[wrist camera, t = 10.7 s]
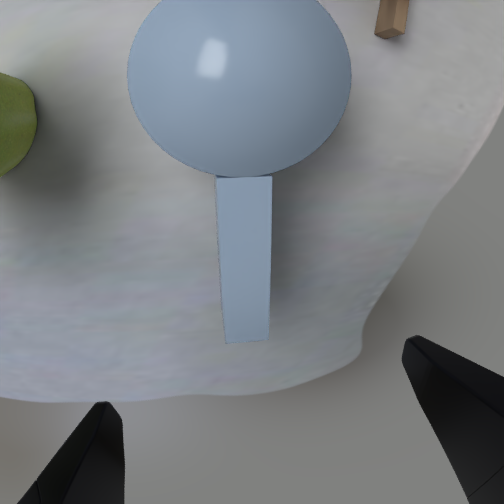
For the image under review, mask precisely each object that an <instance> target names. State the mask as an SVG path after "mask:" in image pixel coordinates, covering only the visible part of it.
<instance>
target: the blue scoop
mask: <svg viewBox="0 0 504 504" xmlns="http://www.w3.org/2000/svg"><path fill="white" fill-rule="evenodd" d="M127 79H128V90H129V94H130V99H131V103H132V105H133V108H134V110H135V113H136V115H137V117H138V119H139V121H140V123H141V124H142V126H143V128H144V129H145V131H146V132H147V133H148V134H149V136H150V137H151V138H152V140H154V141H155V142H156V143H157V144H158V145H159V146H160V147H161V148H162V149H163V150H164V151H165V152H167V153H168V154H169V155H171V156H172V157H173V158H175V159H177V160H178V161H180V162H182V163H184V164H186V165H187V166H190V167H192V168H195V169H197V170H200V171H203V172H207V173H210V174H214V179H215V204H216V225H217V244H218V262H219V278H220V293H221V307H222V316H223V325H224V334H225V342H226V344H228V343H240V342H251V341H261V340H269V311H270V275H271V227H272V176H271V175H270V173H274V172H277V171H279V170H282V169H285V168H288V167H290V166H292V165H294V164H296V163H298V162H300V161H301V160H303V159H304V158H306V157H307V156H309V155H310V154H312V153H313V152H314V151H315V150H316V149H317V148H319V147H320V146H321V145H322V144H323V143H324V142H325V141H326V139H327V138H328V137H329V136H330V135H331V133H332V132H333V131H334V129H335V128H336V126H337V125H338V123H339V121H340V119H341V117H342V115H343V113H344V110H345V108H346V105H347V102H348V98H349V93H350V88H351V63H350V57H349V53H348V49H347V46H346V43H345V40H344V37H343V35H342V33H341V31H340V30H339V28H338V26H337V24H336V23H335V21H334V20H333V18H332V17H331V16H330V14H329V13H328V12H327V11H326V10H325V9H324V7H323V6H322V5H321V4H320V3H319V2H317V1H316V0H162V1H161V2H160V3H159V4H158V5H157V6H156V7H155V8H154V9H153V10H152V11H151V12H150V14H149V15H148V16H147V17H146V19H145V20H144V22H143V23H142V25H141V27H140V28H139V30H138V32H137V34H136V36H135V39H134V41H133V44H132V47H131V51H130V55H129V60H128V70H127Z"/></svg>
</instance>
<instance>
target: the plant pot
mask: <svg viewBox="0 0 504 504" xmlns="http://www.w3.org/2000/svg"><path fill="white" fill-rule="evenodd" d="M36 127H37V117H36V112H35V105H34V96H33V94H32V92H31V90H30V89H29V87H28V86H27V85H26V84H25V83H24V82H22V81H21V80H19V79H17V78H14V77H11V76H9V75H6V74H3V73H0V177H1V176H3V175H4V174H6V173H7V172H8V171H10V170H11V169H12V168H14V167H15V166H16V165H17V164H19V163H20V162H21V161H22V159H23V158H24V157H25V155H26V154H27V153H28V151H29V149H30V147H31V145H32V142H33V139H34V136H35V132H36Z"/></svg>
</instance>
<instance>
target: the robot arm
mask: <svg viewBox="0 0 504 504" xmlns="http://www.w3.org/2000/svg"><path fill="white" fill-rule="evenodd" d="M402 363H403V366H404V368H405V370H406V373H407V375H408V378H409V380H410V382H411V385H412V387H413V389H414V392H415V394H416V397H417V399H418V401H419V403H420V405H421V407H422V409H423V411H424V413H425V415H426V417H427V418H428V420H429V422H430V424H431V426H432V428H433V430H434V432H435V434H436V436H437V437H438V439H439V441H440V443H441V445H442V447H443V449H444V451H445V453H446V455H447V457H448V459H449V461H450V463H451V465H452V467H453V469H454V471H455V473H456V475H457V478H458V480H459V482H460V484H461V486H462V488H463V490H464V492H465V495H466V497H467V499H468V502H469V504H504V377H503V376H501V375H499V374H497V373H495V372H493V371H491V370H488V369H486V368H484V367H482V366H480V365H478V364H476V363H474V362H472V361H470V360H468V359H466V358H464V357H462V356H460V355H458V354H456V353H454V352H452V351H450V350H448V349H446V348H444V347H442V346H440V345H438V344H435V343H434V342H432V341H430V340H428V339H426V338H424V337H422V336H419V335H416V336H413V337H410V338H408V339H407V340H406V341H405V345H404V349H403V354H402ZM124 482H125V458H124V443H123V424H122V419H121V417H120V415H119V414H118V413H117V411H116V410H115V409H114V407H113V406H112V405H111V403H110V402H107V401H104V402H97V403H95V404H94V406H93V407H92V408H91V410H90V411H89V412H88V413H87V414H86V416H85V417H84V418H83V419H82V421H81V422H80V423H79V425H78V426H77V427H76V428H75V430H74V431H73V432H72V433H71V435H70V436H69V437H68V439H67V440H66V441H65V442H64V444H63V445H62V446H61V448H60V449H59V450H58V452H57V453H56V454H55V455H54V457H53V458H52V459H51V461H50V462H49V463H48V465H47V466H46V467H45V469H44V470H43V471H42V472H41V474H40V475H39V476H38V478H37V481H35V482H34V483H33V484H32V486H31V487H30V488H29V490H28V491H27V492H26V493H25V495H24V496H23V497H22V498H21V499H20V501H19V502H18V503H17V504H124V484H125V483H124Z"/></svg>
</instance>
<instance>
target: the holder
mask: <svg viewBox="0 0 504 504" xmlns="http://www.w3.org/2000/svg"><path fill="white" fill-rule="evenodd" d="M408 6H409V0H381V1H380V7H379V12H378V17H377V23H376V28H375V33H374V34H375V35H377V36H380V37H382V38H384V39H387V38H391V37H394V36H398V35H401V34H404V32H405V26H406V20H407V13H408Z"/></svg>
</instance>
